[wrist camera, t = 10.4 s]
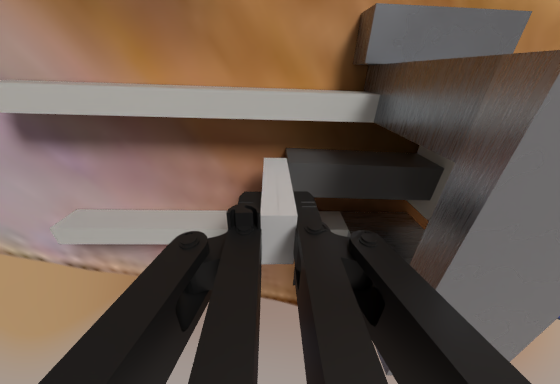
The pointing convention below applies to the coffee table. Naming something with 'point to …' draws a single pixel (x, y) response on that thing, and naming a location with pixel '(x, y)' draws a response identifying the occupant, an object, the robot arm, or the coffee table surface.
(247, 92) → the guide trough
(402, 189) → the plug
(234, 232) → the robot arm
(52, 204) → the coffee table surface
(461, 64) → the housing
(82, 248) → the coffee table surface
